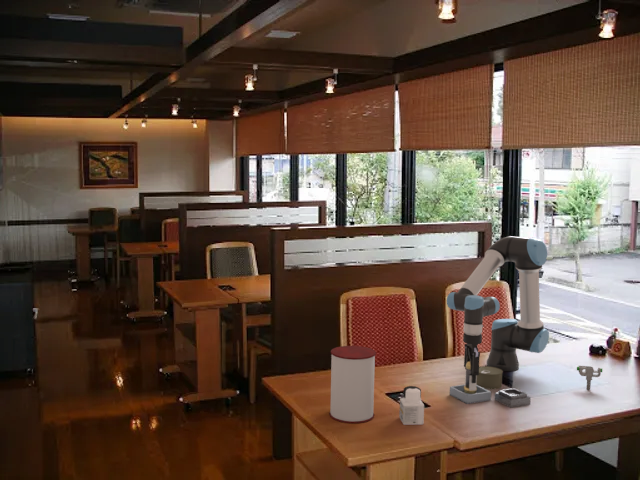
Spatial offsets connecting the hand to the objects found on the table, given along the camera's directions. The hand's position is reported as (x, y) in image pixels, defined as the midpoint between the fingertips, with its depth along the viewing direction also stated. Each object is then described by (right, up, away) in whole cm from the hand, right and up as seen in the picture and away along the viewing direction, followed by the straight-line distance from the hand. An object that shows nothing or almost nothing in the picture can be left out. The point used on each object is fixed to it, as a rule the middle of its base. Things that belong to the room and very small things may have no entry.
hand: (470, 387), depth 285 cm
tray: (0, -4, 0) cm, 4 cm away
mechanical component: (+54, -4, +14) cm, 56 cm away
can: (+12, -3, +17) cm, 21 cm away
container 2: (-28, -7, -27) cm, 40 cm away
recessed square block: (+16, -5, -4) cm, 17 cm away
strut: (0, -2, 0) cm, 2 cm away
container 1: (-50, -6, -22) cm, 55 cm away
